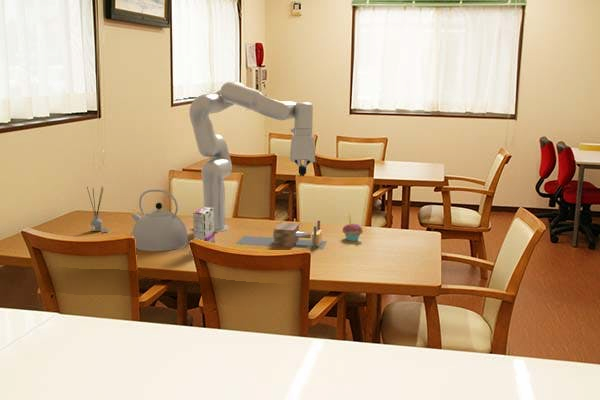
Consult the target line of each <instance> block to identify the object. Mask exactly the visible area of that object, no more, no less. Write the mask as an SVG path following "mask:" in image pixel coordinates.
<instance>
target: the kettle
mask: <svg viewBox="0 0 600 400" xmlns="http://www.w3.org/2000/svg"><path fill="white" fill-rule="evenodd" d="M151 192H153V193H154V192H156V193H157V192H158V193H163V194H167V195H168V196H169V197H171V198H172V200H173V201H174V204H175V211H174V213H173V212H172V211H170V210H164V209H162V208H163V204H162V203H161V202H157V203H155V208H156V209H154V210H149V211H147V212H146V213H145V211H144V209H143V206H142V199H143V197H144V195H145V194H147V193H151ZM138 201H139V202H138V204H139V205H138V206H139V209H140V212H141V214H142V216H140V215H139V214H138V213H136V212H135V213H133V214H131V215H130V217H131V218H132V219H133V220H134V221H135V223H134V225H133V227H132V231H131V236H132V235H133V236H134V237H135V239H136V248H137V250H140V251H147V252H165V251H172V250H173V249H174V250H177V249H181V247H182V248H184V247H186V246H187V245H188V243H189V240H188V231H187V227H186V225H185V223H184V222H183V220H181V218H180V217H178V216H177V214H178V209H179V207H178V202H177V200H176V198H175V197H174V195H172V194H171V193H170V192H169V191H166V190H164V189H149V190H146V191H144V192H143V193H142V194H141V195H140V197H139V200H138ZM185 245H186V246H185ZM183 246H184V247H183ZM136 248H135V249H136ZM174 250H173V251H174Z"/></svg>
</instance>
